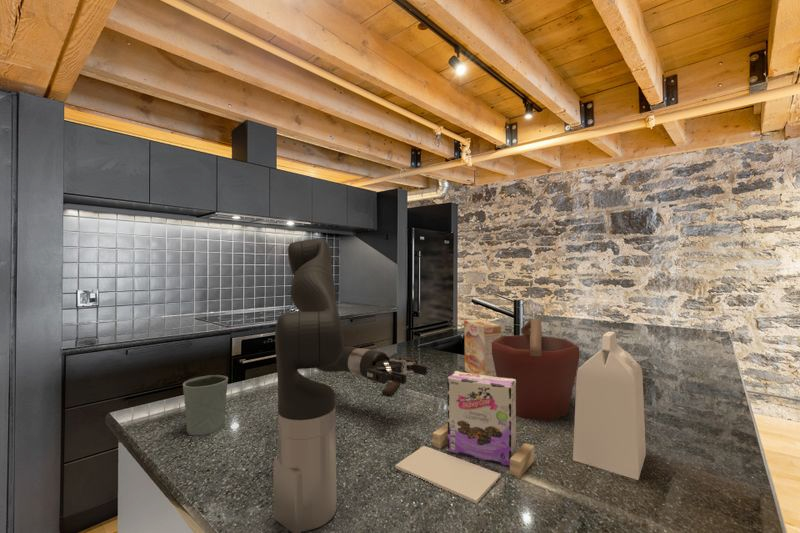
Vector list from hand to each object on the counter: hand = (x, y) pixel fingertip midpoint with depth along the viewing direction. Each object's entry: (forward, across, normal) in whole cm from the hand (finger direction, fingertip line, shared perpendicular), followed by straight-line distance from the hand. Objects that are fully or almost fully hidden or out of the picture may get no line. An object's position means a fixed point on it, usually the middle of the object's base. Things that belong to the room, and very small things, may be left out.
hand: (416, 375), depth 91 cm
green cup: (-44, -31, +14) cm, 55 cm away
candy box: (+18, 0, +14) cm, 22 cm away
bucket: (+19, +32, +14) cm, 39 cm away
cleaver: (-31, +25, +15) cm, 42 cm away
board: (+15, -11, +13) cm, 23 cm away
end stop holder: (+18, 0, +14) cm, 22 cm away
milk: (+40, +15, +14) cm, 44 cm away
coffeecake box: (-7, +51, +14) cm, 53 cm away
